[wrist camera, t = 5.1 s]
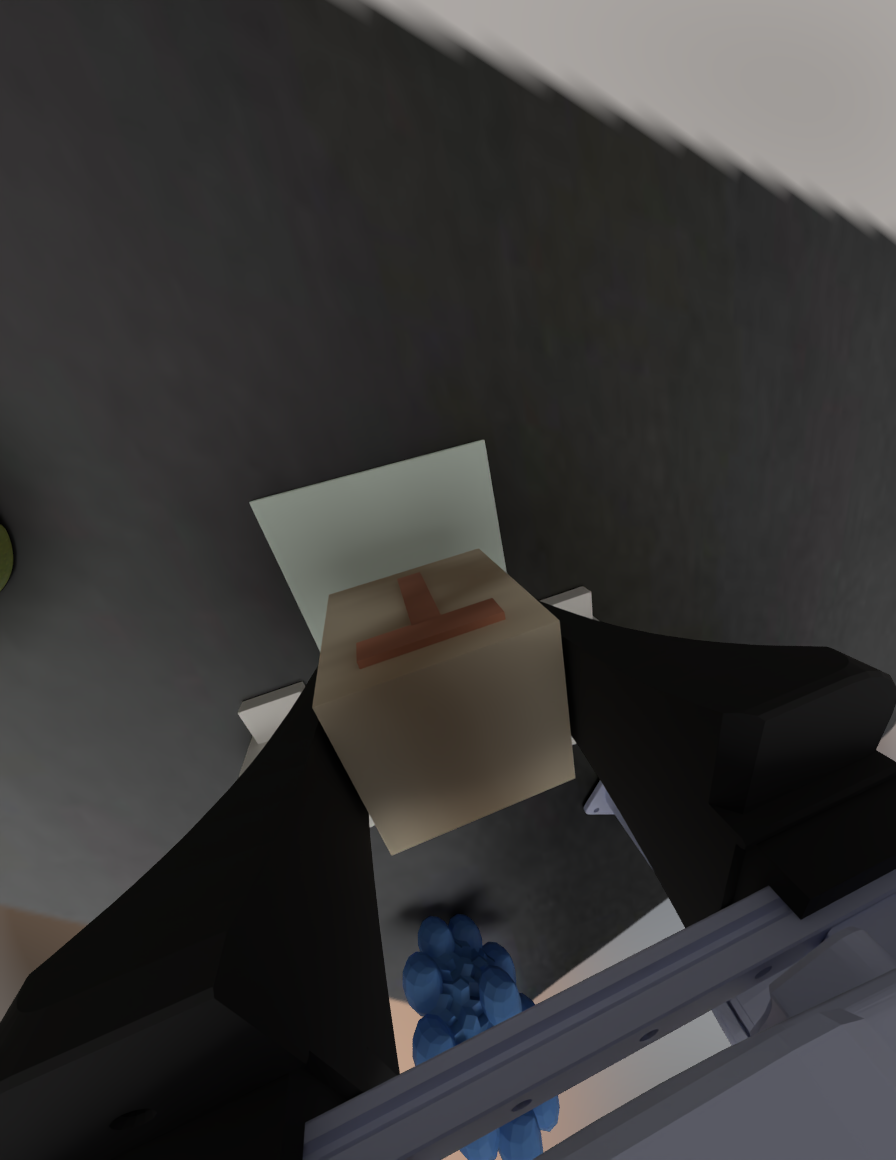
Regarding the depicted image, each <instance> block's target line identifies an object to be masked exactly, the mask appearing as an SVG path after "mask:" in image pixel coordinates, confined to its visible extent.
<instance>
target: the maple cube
mask: <svg viewBox="0 0 896 1160" xmlns="http://www.w3.org/2000/svg"><path fill="white" fill-rule="evenodd" d="M312 708H313V710H314V712H315V714H316V716H317V717H318V719H319V721H320V723H321V725H322V727H323V729H324V730H325V732H326V734H327V736H328V738H329V740H330V742H331V744H332V745H333V747H334V749H335V751H336V753H337V755H338V757H339V758H340V760H341V762H342V764H343V766H344V768H345V770H346V772H347V773H348V775H349V777H350V779H351V781H352V783H353V785H354V786H355V788H356V790H357V792H358V794H359V796H360V798H361V800H362V801H363V803H364V805H365V807H366V809H367V811H368V813H369V815H370V816H371V818H372V820H373V822H374V824H375V826H376V828H377V829H378V831H379V833H380V835H381V837H382V839H383V841H384V843H385V844H386V846H387V848H388V850H389V852H390V854H391V856H392V855H394V854H397V853H399V852H401V851H404V850H406V849H408V848H411V847H413V846H416V845H418V844H420V843H423V842H425V841H427V840H430V839H432V838H435V837H437V836H439V835H442V834H444V833H446V832H449V831H451V830H453V829H456V828H458V827H461V826H463V825H465V824H468V823H470V822H472V821H475V820H477V819H480V818H482V817H484V816H487V815H489V814H491V813H494V812H496V811H498V810H501V809H503V808H506V807H508V806H510V805H513V804H515V803H517V802H520V801H522V800H525V799H527V798H529V797H532V796H534V795H536V794H539V793H541V792H544V791H546V790H548V789H551V788H553V787H555V786H558V785H560V784H562V783H565V782H567V781H570V780H572V779H574V778H575V770H574V760H573V750H572V740H571V730H570V720H569V710H568V700H567V690H566V680H565V670H564V660H563V650H562V640H561V630H560V620H558V619H557V618H556V617H555V616H554V615H553V614H552V613H551V612H550V611H548V610H547V609H546V608H545V607H544V606H543V605H542V604H541V603H539V602H538V601H537V600H536V599H535V598H534V597H533V596H532V595H530V594H529V593H528V592H527V591H526V590H525V589H524V588H523V587H522V586H520V585H519V584H518V583H517V582H516V581H515V580H514V579H513V578H511V577H510V576H509V575H508V574H507V573H506V572H505V571H504V570H503V569H501V568H500V567H499V566H498V565H497V564H496V563H495V562H494V561H492V560H491V559H490V558H489V557H488V556H487V555H486V554H485V553H484V552H482V551H481V550H480V549H479V548H478V549H475V550H472V551H468V552H465V553H462V554H459V555H456V556H452V557H449V558H446V559H443V560H439V561H436V562H433V563H430V564H427V565H423V566H420V567H417V568H414V569H410V570H407V571H404V572H401V573H398V574H394V575H391V576H388V577H385V578H381V579H378V580H375V581H372V582H368V583H365V584H362V585H359V586H356V587H352V588H349V589H346V590H343V591H339V592H336V593H333V594H330V595H329V598H328V604H327V611H326V618H325V625H324V631H323V638H322V645H321V651H320V658H319V665H318V672H317V678H316V685H315V692H314V699H313V705H312Z"/></svg>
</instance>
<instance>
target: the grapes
mask: <svg viewBox="0 0 896 1160" xmlns="http://www.w3.org/2000/svg"><path fill="white" fill-rule="evenodd" d="M418 946H419V949H420V952H415V953H414V954H412V955H411V956H409V957H408V960H407V962H406V965H405V967H404V970H403V989H404V992H405V995H406V998H407V1001H408V1003H409V1005H410V1006H411V1007H412V1008H413V1009H414V1010H415V1011H416V1012H417V1013H418V1014H419V1015H420V1016H424V1017H423V1018H422V1019H420V1020H419V1021H418V1024H417V1027H416V1030H415V1033H414V1036H413V1060H414V1063H415V1066H417V1065H419V1064H421V1063H423V1062H425V1061H427V1060H429V1059H431V1058H433V1057H435V1056H437V1055H438V1054H440V1053H442V1052H444V1051H446V1050H448V1049H450V1048H452V1047H454V1046H456V1045H458V1044H460V1043H462V1042H464V1041H466V1040H468V1039H470V1038H472V1037H474V1036H476V1035H478V1034H480V1033H482V1032H483V1031H485V1030H487V1029H489V1028H491V1027H493V1026H495V1025H497V1024H499V1023H501V1022H503V1021H505V1020H507V1019H509V1018H511V1017H513V1016H515V1015H517V1014H519V1013H521V1012H523V1011H525V1010H527V1009H528V1008H530V1007H532V1006H534V1005H535V1004H534V1002H533V1001H532V1000H531V999H530V998H528V997H527V996H526V995H524V994H523V993H519V992H518V989H517V986H516V973H515V967H514V964H513V961H512V958H511V956H510V955H509V953H508V952H507V951H506V950H505V948H504V947H502V946H501V945H499V944H498V943H496V942H487V943H486V944H485V945H483V946H482V937H481V934H480V931H479V928H478V927H477V925H476V924H475V923H474V921H473V920H472V919H471V918H469V917H468V916H466V915H463V914H456V915H455V916H453V917H452V918H450V921H449V924H448V925H447V924H446V922H445V921H443V920H442V919H440V918H439V917H435V916H429V917H427V918H426V919H425V920H423V921H422V924H421V926H420V929H419V932H418ZM559 1108H560V1107H559V1099H558V1095H557V1096H555V1097H553V1098H552V1099H550V1100H548V1101H546V1102H544V1103H543V1104H541V1105H539V1106H537V1107H535V1108H534V1109H532V1110H530V1111H528V1112H526V1113H525V1114H523V1115H521V1116H519V1117H517V1118H516V1119H514V1120H512V1121H510V1122H508V1123H506V1124H505V1125H503V1126H501V1127H499V1128H497V1129H496V1130H494V1131H492V1132H490V1133H488V1134H487V1135H485V1136H483V1137H481V1138H479V1139H478V1140H476V1141H474V1142H472V1143H470V1144H469V1145H467V1146H465V1147H463V1148H461V1149H460V1151H461V1152H462V1154H463V1155H464V1156H465V1157H466V1158H467V1159H468V1160H495V1159H496V1157H497V1152H498V1151H499V1153H500V1156H501V1158H502V1160H532V1159H534V1158H536V1157H537V1156H539V1155H541V1154H542V1153H543V1147H542V1138H541V1132H540V1130H543V1131H549V1132H550V1131H551V1129H553V1127H554V1126H555V1125H556V1124H557V1121H558V1114H559Z"/></svg>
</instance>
